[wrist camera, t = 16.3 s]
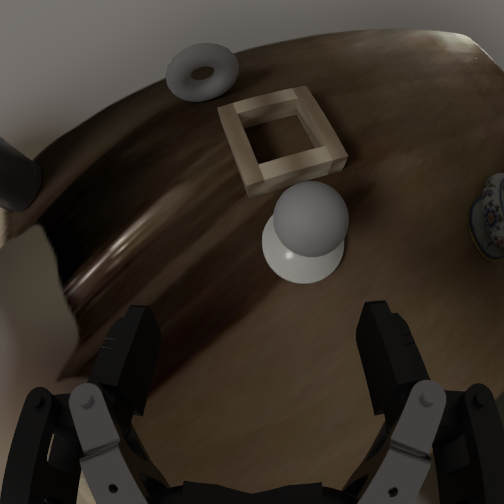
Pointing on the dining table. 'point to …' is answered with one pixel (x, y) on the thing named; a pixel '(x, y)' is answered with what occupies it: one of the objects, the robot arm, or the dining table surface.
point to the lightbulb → (311, 219)
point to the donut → (197, 58)
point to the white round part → (297, 259)
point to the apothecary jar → (489, 219)
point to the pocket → (290, 167)
